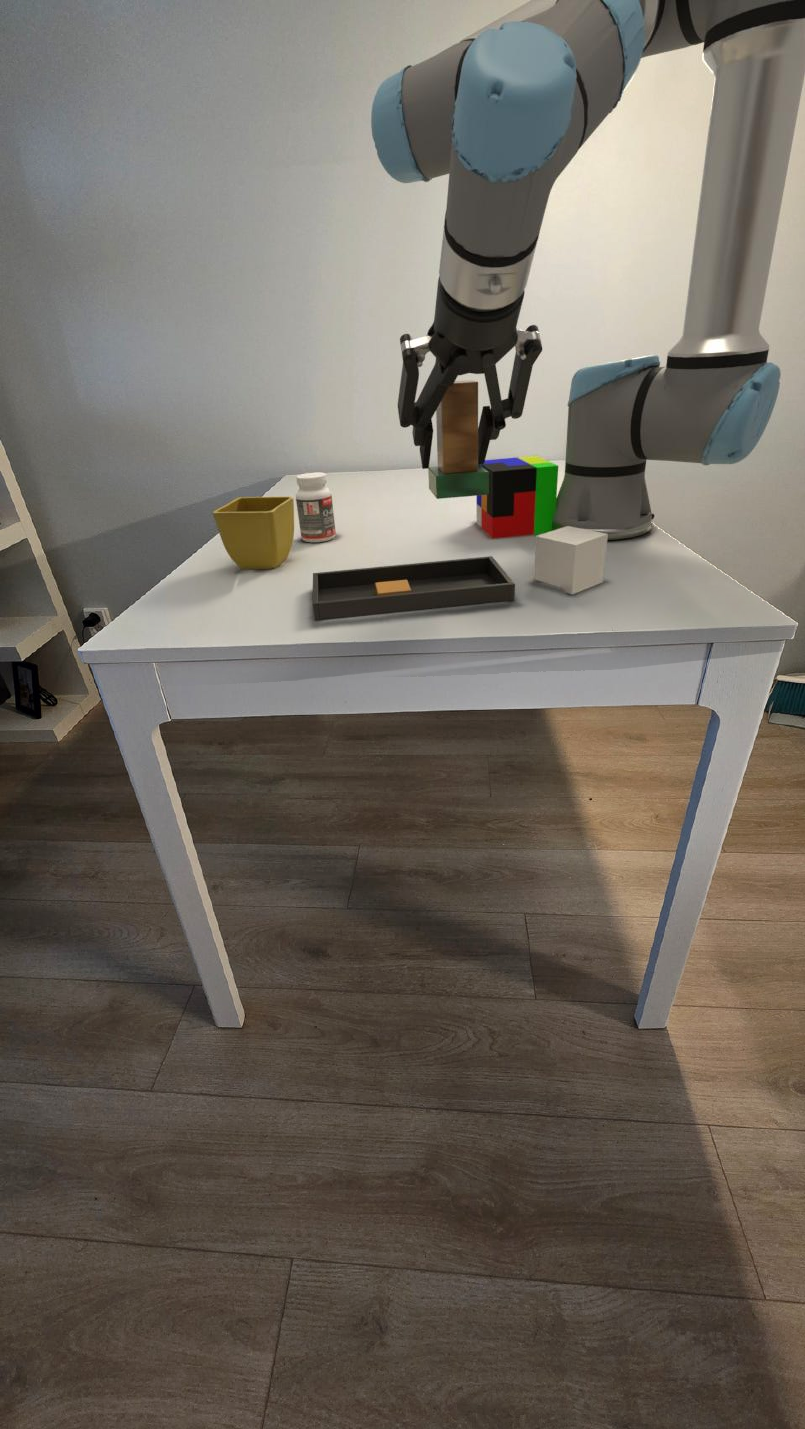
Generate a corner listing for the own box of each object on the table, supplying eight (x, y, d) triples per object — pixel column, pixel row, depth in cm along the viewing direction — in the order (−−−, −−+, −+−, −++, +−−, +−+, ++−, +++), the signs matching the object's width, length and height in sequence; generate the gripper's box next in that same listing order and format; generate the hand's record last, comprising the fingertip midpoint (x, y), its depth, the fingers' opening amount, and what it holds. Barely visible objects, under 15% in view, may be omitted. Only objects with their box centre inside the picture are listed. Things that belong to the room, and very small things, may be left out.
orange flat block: (407, 588, 80) (407, 579, 80) (411, 599, 77) (411, 590, 76) (375, 591, 80) (375, 582, 79) (378, 602, 77) (377, 593, 76)
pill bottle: (334, 542, 103) (326, 477, 98) (299, 544, 103) (289, 479, 98) (338, 532, 108) (330, 470, 103) (304, 534, 108) (295, 473, 103)
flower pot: (281, 577, 89) (271, 511, 85) (224, 576, 91) (210, 511, 86) (303, 557, 97) (294, 496, 92) (249, 557, 98) (238, 497, 94)
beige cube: (533, 583, 81) (535, 536, 78) (564, 572, 84) (567, 525, 81) (572, 594, 77) (575, 544, 74) (603, 582, 80) (608, 533, 77)
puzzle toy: (476, 523, 108) (476, 461, 103) (533, 518, 109) (536, 455, 104) (492, 539, 100) (492, 471, 94) (554, 533, 101) (558, 465, 95)
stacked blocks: (477, 485, 78) (477, 378, 72) (488, 494, 73) (489, 381, 67) (428, 489, 78) (425, 382, 72) (436, 499, 73) (433, 385, 67)
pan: (491, 575, 84) (491, 556, 83) (514, 605, 75) (515, 583, 74) (315, 592, 83) (312, 573, 81) (315, 625, 73) (312, 603, 72)
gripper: (376, 324, 53) (376, 490, 75) (599, 309, 54) (534, 477, 77) (366, 253, 55) (369, 436, 77) (582, 240, 56) (523, 424, 78)
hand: (451, 456), depth 77 cm, fingers closed on stacked blocks, 6 cm apart
